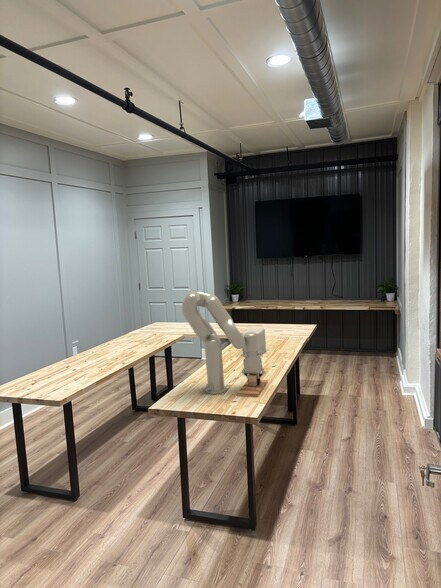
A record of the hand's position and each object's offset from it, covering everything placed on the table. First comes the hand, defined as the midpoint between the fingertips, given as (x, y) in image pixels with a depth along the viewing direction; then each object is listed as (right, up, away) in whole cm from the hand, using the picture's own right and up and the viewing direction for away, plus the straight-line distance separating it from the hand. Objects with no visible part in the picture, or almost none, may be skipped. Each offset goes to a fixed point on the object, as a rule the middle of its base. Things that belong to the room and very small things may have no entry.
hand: (254, 383), depth 247 cm
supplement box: (+6, +7, +73) cm, 73 cm away
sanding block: (0, 0, 0) cm, 0 cm away
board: (-1, -2, -3) cm, 4 cm away
